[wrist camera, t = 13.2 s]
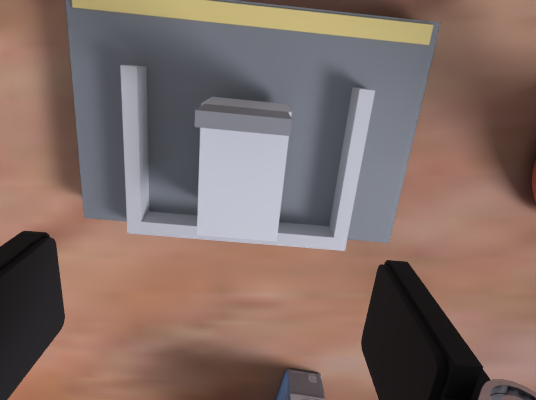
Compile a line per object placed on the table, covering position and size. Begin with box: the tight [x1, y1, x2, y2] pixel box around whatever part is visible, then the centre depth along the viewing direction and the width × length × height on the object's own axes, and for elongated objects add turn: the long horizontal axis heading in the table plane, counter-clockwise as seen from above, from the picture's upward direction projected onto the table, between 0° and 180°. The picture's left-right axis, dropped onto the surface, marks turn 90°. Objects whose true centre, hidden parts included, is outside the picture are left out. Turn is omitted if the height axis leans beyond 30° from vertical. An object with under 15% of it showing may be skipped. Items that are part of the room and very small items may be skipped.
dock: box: [65, 0, 440, 251], centre depth 26 cm, size 16×24×5 cm, turn 85°
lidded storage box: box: [195, 97, 292, 242], centre depth 23 cm, size 8×5×8 cm, turn 174°
